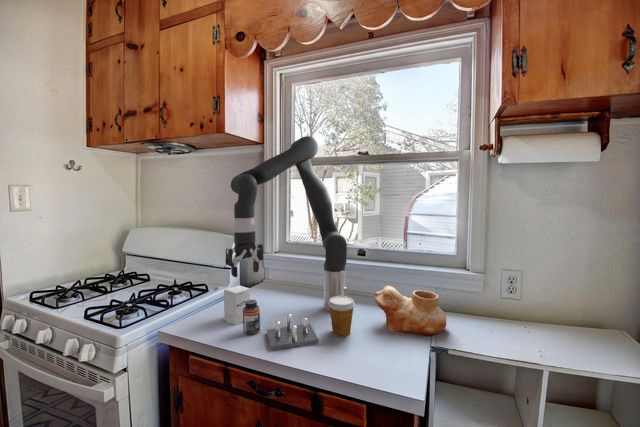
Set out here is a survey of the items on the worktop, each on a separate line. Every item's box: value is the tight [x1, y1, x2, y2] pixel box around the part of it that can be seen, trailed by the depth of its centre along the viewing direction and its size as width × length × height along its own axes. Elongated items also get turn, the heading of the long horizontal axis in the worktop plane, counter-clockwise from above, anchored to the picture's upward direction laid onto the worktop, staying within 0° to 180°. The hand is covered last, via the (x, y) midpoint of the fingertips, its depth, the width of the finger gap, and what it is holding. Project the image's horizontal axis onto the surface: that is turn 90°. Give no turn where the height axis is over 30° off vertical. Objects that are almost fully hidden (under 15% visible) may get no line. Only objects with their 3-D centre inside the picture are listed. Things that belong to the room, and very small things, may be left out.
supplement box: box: [223, 284, 251, 326], centre depth 114 cm, size 7×7×13 cm
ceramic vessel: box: [373, 285, 447, 337], centre depth 107 cm, size 14×26×15 cm, turn 79°
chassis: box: [265, 313, 319, 352], centre depth 99 cm, size 16×12×6 cm
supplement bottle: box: [242, 299, 261, 336], centre depth 104 cm, size 6×6×11 cm
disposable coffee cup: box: [328, 295, 356, 338], centre depth 103 cm, size 10×10×12 cm
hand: (245, 274), depth 104 cm, fingers open, 8 cm apart
